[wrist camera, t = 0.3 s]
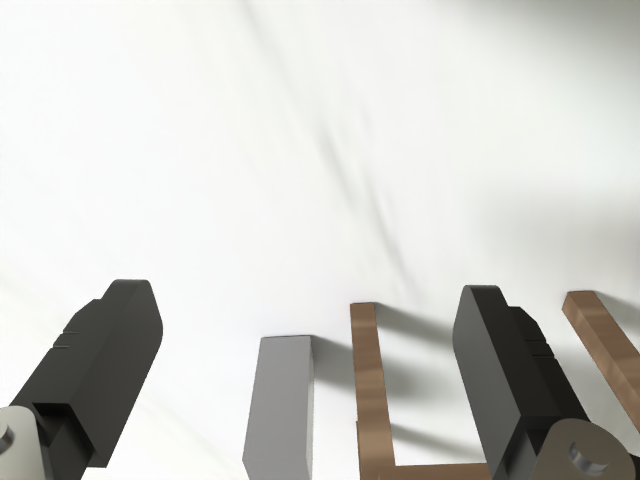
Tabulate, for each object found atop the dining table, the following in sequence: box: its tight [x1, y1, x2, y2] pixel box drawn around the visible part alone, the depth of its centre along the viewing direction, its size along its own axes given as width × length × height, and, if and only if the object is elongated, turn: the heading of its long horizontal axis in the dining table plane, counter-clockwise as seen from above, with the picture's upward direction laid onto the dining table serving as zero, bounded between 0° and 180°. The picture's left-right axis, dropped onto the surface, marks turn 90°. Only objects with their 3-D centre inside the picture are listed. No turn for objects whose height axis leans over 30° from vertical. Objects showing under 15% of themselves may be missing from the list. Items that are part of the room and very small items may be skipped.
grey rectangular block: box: [242, 336, 315, 480], centre depth 35 cm, size 4×4×11 cm
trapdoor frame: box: [350, 291, 640, 480], centre depth 35 cm, size 20×20×14 cm
